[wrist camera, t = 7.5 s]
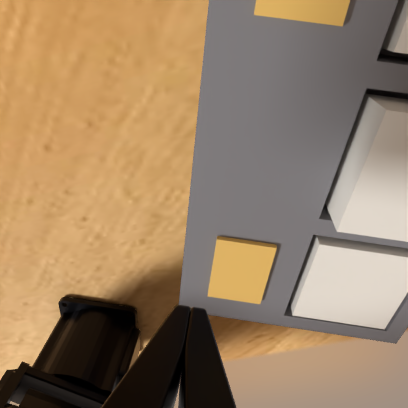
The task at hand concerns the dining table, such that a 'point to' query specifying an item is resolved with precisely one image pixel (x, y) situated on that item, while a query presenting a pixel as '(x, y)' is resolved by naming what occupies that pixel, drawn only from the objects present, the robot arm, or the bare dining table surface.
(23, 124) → the dining table surface
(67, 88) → the dining table surface
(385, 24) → the key panel
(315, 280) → the key
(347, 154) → the key middle
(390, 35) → the key
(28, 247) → the dining table surface
